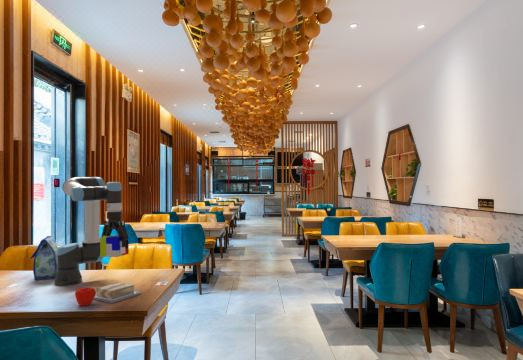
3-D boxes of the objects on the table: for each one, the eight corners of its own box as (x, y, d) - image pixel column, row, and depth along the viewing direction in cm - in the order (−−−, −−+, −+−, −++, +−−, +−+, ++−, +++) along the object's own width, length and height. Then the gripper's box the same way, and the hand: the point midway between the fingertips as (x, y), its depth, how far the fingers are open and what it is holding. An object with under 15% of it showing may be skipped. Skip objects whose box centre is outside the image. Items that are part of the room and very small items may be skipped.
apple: (98, 301, 188) (98, 286, 188) (91, 307, 179) (90, 290, 179) (80, 302, 188) (80, 286, 188) (71, 307, 179) (71, 291, 179)
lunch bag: (36, 274, 257) (36, 236, 258) (63, 272, 263) (63, 234, 263) (29, 281, 236) (28, 239, 237) (59, 278, 242) (58, 238, 243)
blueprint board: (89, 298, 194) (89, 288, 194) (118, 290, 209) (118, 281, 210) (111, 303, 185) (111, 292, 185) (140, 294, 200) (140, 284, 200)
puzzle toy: (117, 257, 192) (117, 237, 192) (100, 256, 194) (100, 237, 194) (128, 253, 201) (128, 234, 202) (111, 253, 204) (111, 235, 204)
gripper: (93, 211, 201) (94, 252, 201) (123, 211, 189) (124, 255, 188) (105, 210, 208) (106, 250, 207) (135, 210, 195) (136, 252, 195)
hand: (114, 252), depth 198 cm, fingers closed on puzzle toy, 12 cm apart
